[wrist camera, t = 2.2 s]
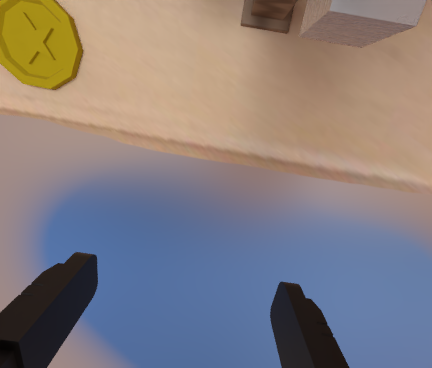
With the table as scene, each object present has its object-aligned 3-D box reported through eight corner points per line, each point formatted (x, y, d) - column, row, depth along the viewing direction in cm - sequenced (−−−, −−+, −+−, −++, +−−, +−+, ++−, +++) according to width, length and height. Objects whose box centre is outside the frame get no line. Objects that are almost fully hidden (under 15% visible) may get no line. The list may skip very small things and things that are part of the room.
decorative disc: (-24, 20, 42) (-35, 16, 41) (45, -30, 39) (36, -37, 38) (35, 102, 48) (27, 102, 46) (100, 63, 45) (94, 61, 43)
